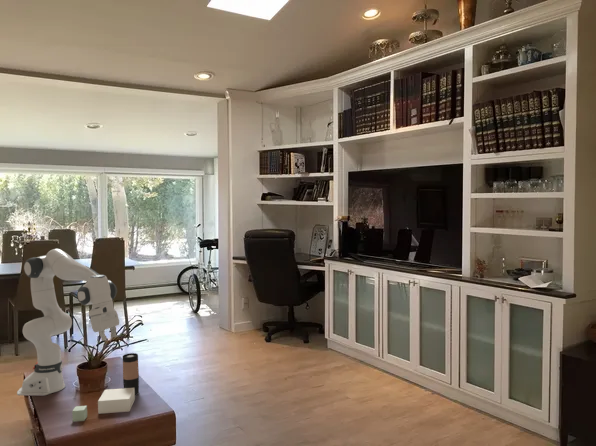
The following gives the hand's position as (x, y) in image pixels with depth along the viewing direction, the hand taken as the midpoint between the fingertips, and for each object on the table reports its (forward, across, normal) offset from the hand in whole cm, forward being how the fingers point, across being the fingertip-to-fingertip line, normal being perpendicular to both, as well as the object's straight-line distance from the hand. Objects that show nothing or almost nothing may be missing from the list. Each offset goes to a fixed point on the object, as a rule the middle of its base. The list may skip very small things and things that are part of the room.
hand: (109, 338), depth 226 cm
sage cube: (+33, +2, -19) cm, 38 cm away
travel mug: (+32, -27, -7) cm, 43 cm away
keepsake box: (+34, -12, -8) cm, 36 cm away
